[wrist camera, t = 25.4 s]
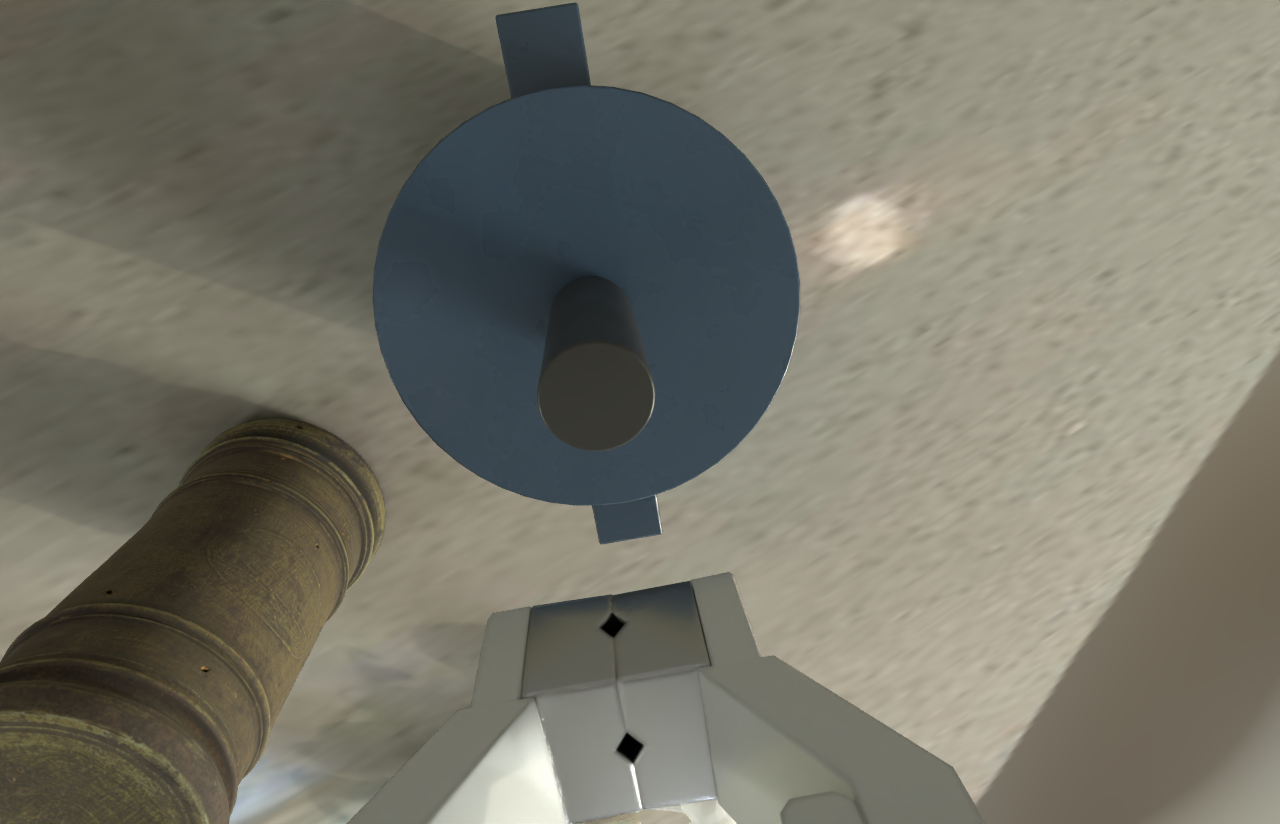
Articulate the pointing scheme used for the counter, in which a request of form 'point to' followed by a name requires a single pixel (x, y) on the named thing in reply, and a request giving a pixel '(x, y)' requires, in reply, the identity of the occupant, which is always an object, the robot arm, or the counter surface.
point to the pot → (546, 58)
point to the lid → (586, 295)
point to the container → (187, 636)
